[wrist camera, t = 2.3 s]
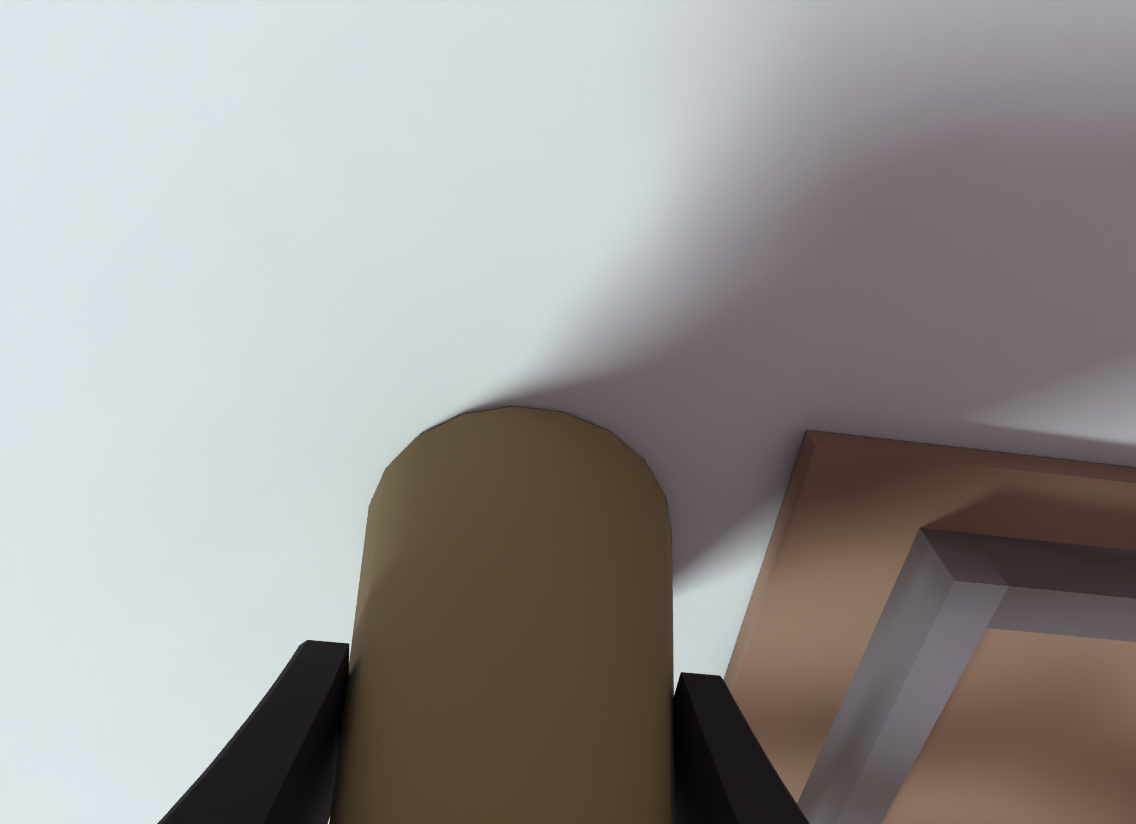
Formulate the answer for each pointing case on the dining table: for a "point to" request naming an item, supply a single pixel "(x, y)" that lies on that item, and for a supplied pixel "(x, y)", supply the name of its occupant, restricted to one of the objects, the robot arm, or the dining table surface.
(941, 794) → the framed serving tray
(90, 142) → the dining table surface
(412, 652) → the cork
